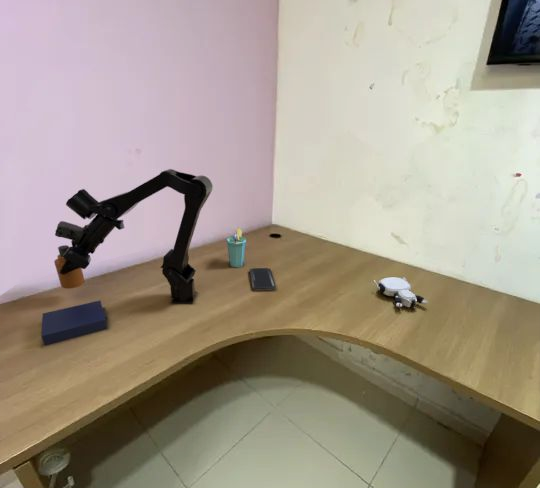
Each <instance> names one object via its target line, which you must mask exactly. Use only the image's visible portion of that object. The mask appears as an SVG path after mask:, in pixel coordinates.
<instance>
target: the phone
mask: <svg viewBox="0 0 540 488" xmlns="http://www.w3.org/2000/svg"><path fill="white" fill-rule="evenodd" d="M249 275H250V280H251V287H252V290H253V291H255V292H256V291H257V292H258V291H260V292H261V291H262V292H263V291H275V290H276V283H275V280H274V277H273V273H272V270H271V268H270V267H255V268H254V267H253V268H250V269H249Z"/></svg>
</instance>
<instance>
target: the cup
mask: <svg viewBox="0 0 540 488" xmlns="http://www.w3.org/2000/svg"><path fill="white" fill-rule="evenodd" d="M242 235H243V231H242V227H237V229H236V230H235V232H234V233H233V236H229V237H227V238H226V240H225V241H226V243H227V252H228V260H229V265H230V266H231V268H242V267H243V265H244V261H245V252H246V251H245V250H246V243H247V239H246V238H245V237H244V236H242Z"/></svg>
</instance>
